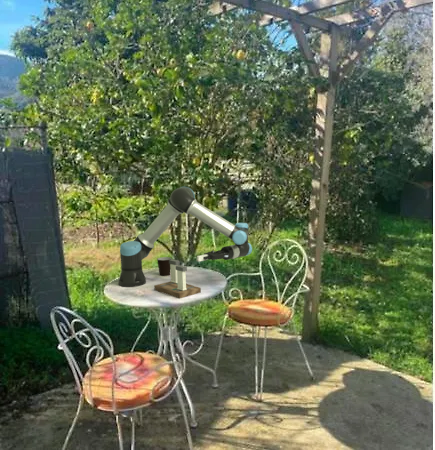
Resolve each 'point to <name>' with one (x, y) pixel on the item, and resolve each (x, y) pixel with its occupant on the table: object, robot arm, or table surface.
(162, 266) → the coffee mug
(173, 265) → the lever
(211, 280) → the table surface
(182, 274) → the lever
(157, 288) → the wooden base board
